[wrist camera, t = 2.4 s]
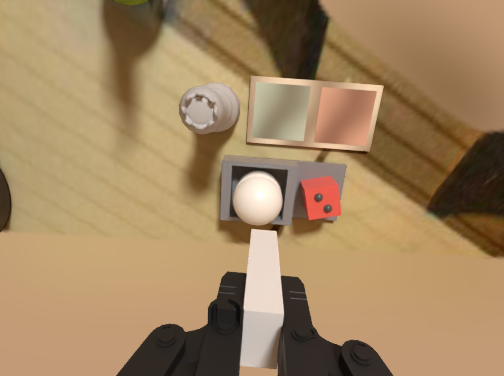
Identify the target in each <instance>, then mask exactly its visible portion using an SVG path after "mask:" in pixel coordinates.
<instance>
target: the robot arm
mask: <svg viewBox="0 0 504 376" xmlns="http://www.w3.org/2000/svg"><path fill="white" fill-rule="evenodd" d="M9 211H10V197H9V191H8V187H7V184H6V181H5V178H4V176H3V174H2V172H1V170H0V232H1V231H2V229H3V228H4V226H5V224H6V222H7V220H8V216H9ZM277 363H278V376H393V375H392V373H391V372H390V370H389V369H388V368H387V366H386V365H385V363H384V362H383V360H382V359H381V358H380V356H379V355H378V353H377V352H376V351H375V350H374V349H373V348H372V347H371V346H369V345H368V344H366V343H364V342H361V341H358V340H349V341H346V342H345V343H344V344H343V345H342V346H339V345H337V344H334V343H331V342H329V341H327V340H325V339H323V338H322V337H321V336H319V334H318V332H317V330H316V329H315V328H314V327H313V325H312V321H311V316H310V311H309V307H308V303H307V297H306V294H305V288H304V284H303V283H302V281H301V280H300V279H299V278H298V277H290V276H281V275H280V264H279V254H278V242H277V231H269V230H257V229H251V239H250V249H249V260H248V268H247V273H237V272H227V273H226V274H225V275H224V276H223V277H222V279H221V283H220V287H219V291H218V295H217V299H215V300H214V301H213V302H211V304H210V305H209V307H208V324H207V325H205V326H204V327H202V328H200V329H197V330H194V331H188V332H185V331H184V330H183V328H182V327H180V326H178V325H176V324H166V325H162V326H160V327H157V328H156V329H155V330H153V331H152V332H151V333H150V335H149V336H148V337H147V338H146V339H145V341H144V342H143V343H142V344H141V346H140V347H139V348H138V349H137V351H136V352H135V353H134V354H133V356H132V357H131V358H130V359H129V361H128V362H127V363H126V364H125V365H124V367H123V368H122V369H121V370H120V372H119V373H118V374H117V375H116V376H239V370H240V366H249V367H260V368H270V369H277Z"/></svg>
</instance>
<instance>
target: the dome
mask: <svg viewBox="0 0 504 376" xmlns="http://www.w3.org/2000/svg"><path fill="white" fill-rule="evenodd" d="M282 201H283V200H282V193H281V189H280V185H279V183H278V181H277V180H276V178H275V177H274V176H273V175H271V174H270V173H268V172H265V171H260V170H256V171H251V172H248V173H246V174H245V175H243V176H242V177H241V178H240V179H239V181H238V183H237V185H236V188H235V192H234V195H233V206H234V209H235V212H236V213H237V215H238V216H239V217H240V218H241V219H242V220H243V221H244V222H246V223H248V224H251V225H265V224H268V223H270V222H271V221H273V220H274V219H275V218H276V217H277V216H278V214H279V213H280V211H281V208H282Z"/></svg>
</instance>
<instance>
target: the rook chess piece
mask: <svg viewBox="0 0 504 376" xmlns="http://www.w3.org/2000/svg"><path fill="white" fill-rule="evenodd" d="M179 114H180V117H181V119H182V122H183V123H184V124H185V126H186V127H187V128H188V129H189V130H191V131H193V132H195V133H197V134H208V133H211V132H222V131H224V130H227V129H230V128H231V127H232V126H233V125H234V124H235V123H236V121H237V119H238V117H239V115H240V102H239V99H238V97H237V94H236V93H235V92H234V91H233V90H232V89H231V87H229V86H227V85H225V84H223V83H214V82H212V83H209V84H206V85H203V86H197V87H194V88H191V89H189V90H188V91H187V92H186V93H185V94H184V95H183V96H182V98H181V101H180V104H179Z"/></svg>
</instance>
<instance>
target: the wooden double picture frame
mask: <svg viewBox="0 0 504 376" xmlns="http://www.w3.org/2000/svg"><path fill="white" fill-rule="evenodd" d="M382 91H383V86H381V85H367V84H354V83H341V82H328V81H314V80H301V79H288V78H274V77H261V76H251V82H250V97H249V112H248V128H247V142H253V143H266V144H279V145H292V146H305V147H318V148H331V149H344V150H357V151H370V147H371V143H372V138H373V133H374V128H375V124H376V119H377V114H378V109H379V105H380V100H381V95H382Z"/></svg>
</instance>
